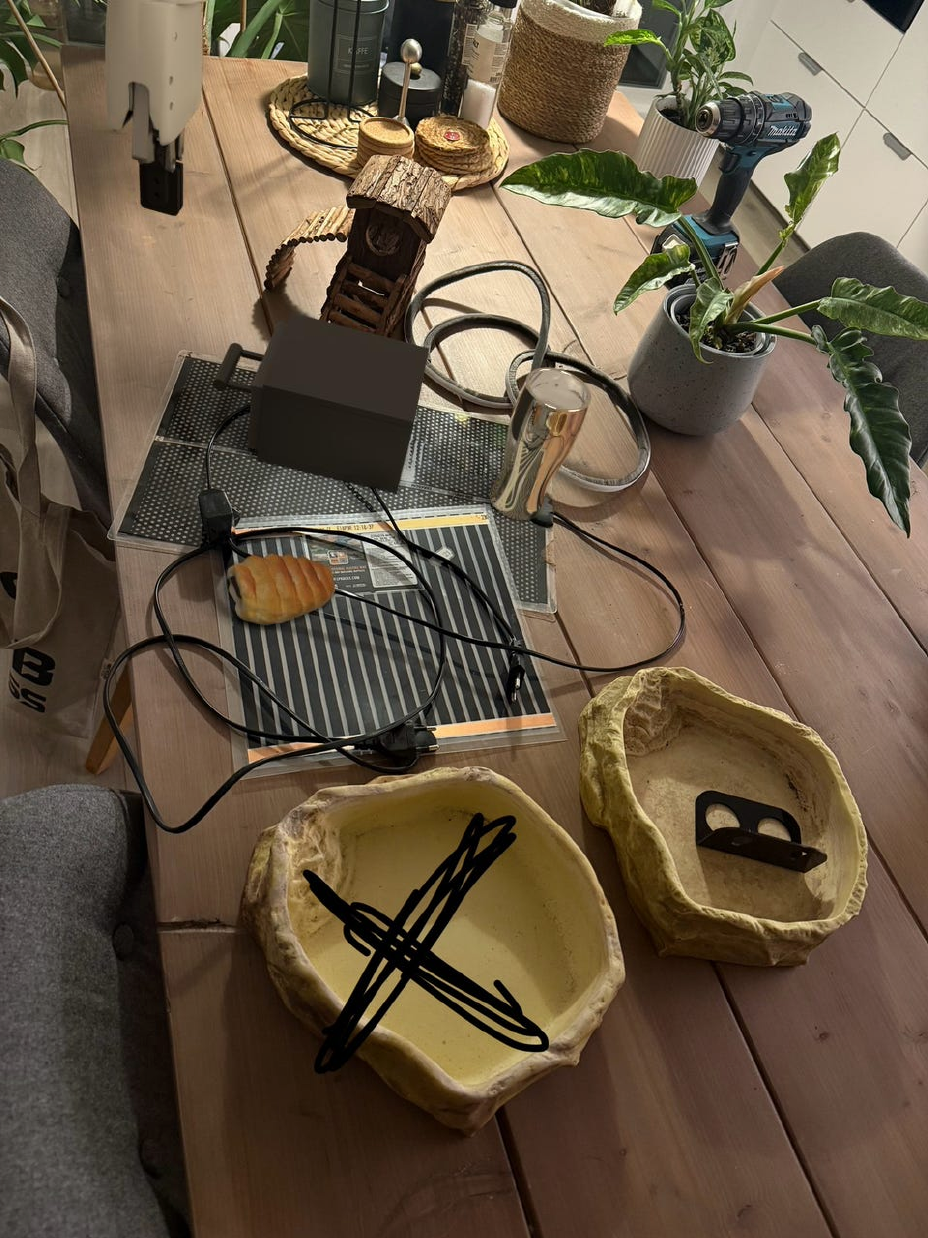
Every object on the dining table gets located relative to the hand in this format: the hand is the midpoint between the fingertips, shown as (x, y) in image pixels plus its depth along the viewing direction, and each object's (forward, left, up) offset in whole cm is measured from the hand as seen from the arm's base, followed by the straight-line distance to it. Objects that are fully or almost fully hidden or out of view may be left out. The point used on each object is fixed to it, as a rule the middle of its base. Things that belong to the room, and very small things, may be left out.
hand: (162, 207), depth 77 cm
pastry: (+17, -23, -21) cm, 35 cm away
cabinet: (+18, 0, -21) cm, 28 cm away
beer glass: (+38, -3, -21) cm, 44 cm away
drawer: (+14, 0, -20) cm, 25 cm away
